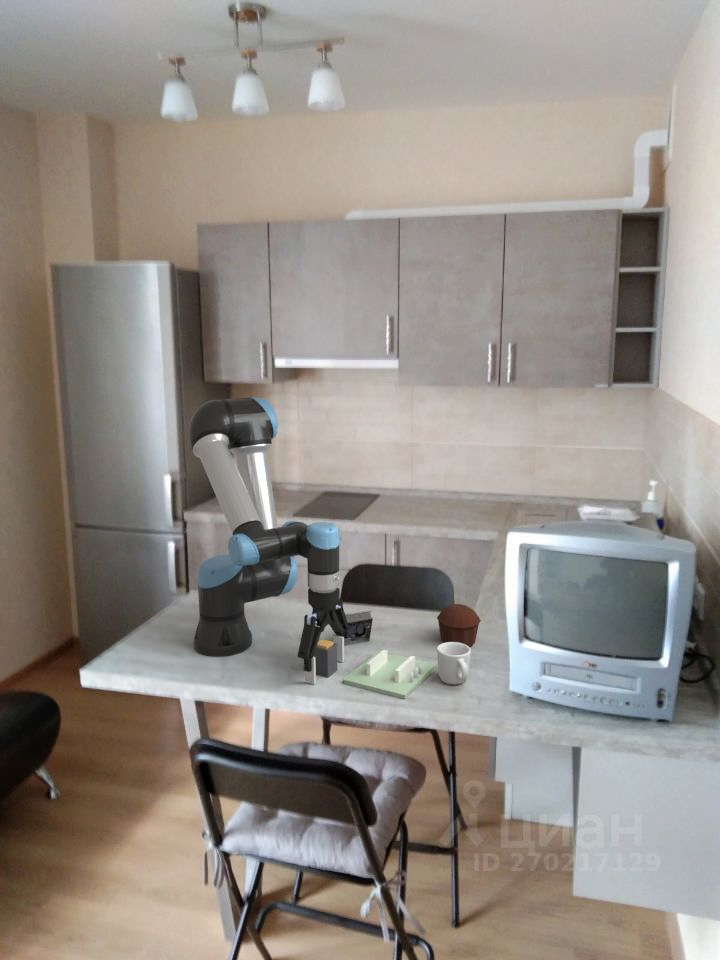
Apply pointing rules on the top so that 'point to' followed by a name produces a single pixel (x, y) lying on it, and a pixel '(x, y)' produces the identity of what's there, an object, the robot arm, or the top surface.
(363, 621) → the electrical switch
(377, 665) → the board
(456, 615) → the muffin
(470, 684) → the top surface
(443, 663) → the cup
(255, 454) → the robot arm
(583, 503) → the top surface
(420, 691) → the top surface
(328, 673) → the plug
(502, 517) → the top surface
